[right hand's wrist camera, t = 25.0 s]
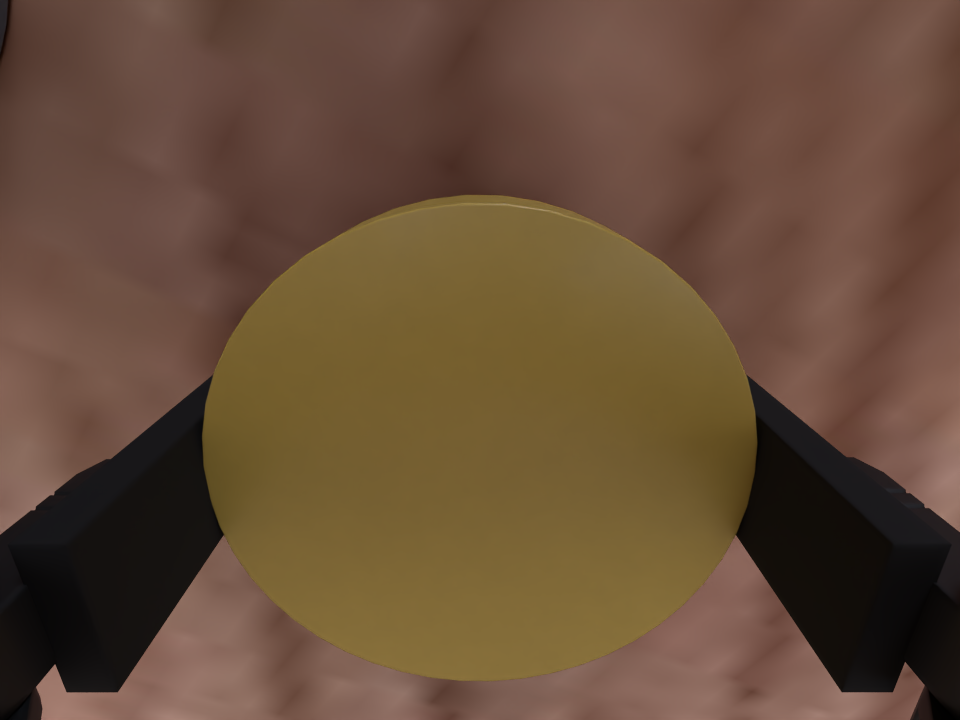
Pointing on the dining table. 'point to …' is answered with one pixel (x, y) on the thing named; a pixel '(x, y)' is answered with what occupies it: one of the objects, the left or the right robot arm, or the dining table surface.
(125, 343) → the dining table surface
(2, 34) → the jar
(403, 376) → the lid
